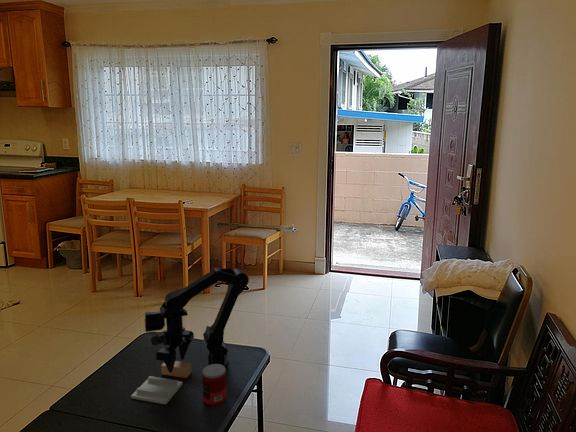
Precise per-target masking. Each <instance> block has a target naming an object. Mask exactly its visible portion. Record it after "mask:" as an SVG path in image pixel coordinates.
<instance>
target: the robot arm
mask: <svg viewBox="0 0 576 432" xmlns="http://www.w3.org/2000/svg"><path fill="white" fill-rule="evenodd" d="M249 280H250V279H249V276H248V275H247V273H246V272H245V271H244V270H243V269H242V268H230V267H229V268H228V267H227V268H222V267H214V268H213V269H212V270H210V271H209V272H207V273H206V274H204V275H203V276H201V277H199V278H198V279H196V280H194V281H193V282H192V283H190V284H189V285H187V286H185V287H182V288H178V289H176V290H172V291H170V292H169V293H167V294H166V295H165V298H164V302H163V303H162V304H161V306H160V307H159V311H158V310H157V311H150V312H149V311H147V312H145V313H144V330H145V333H148V332H155V331H158V332H156V333H155V334H154V335H152V336H151V338H150V343H151V345H153V346H158V345H162V344H163V346H168V347H161V348H160V349H159V350H158V351H157V352H156V353H155V359H156V361H162V362H163V363H165V365H166V367H167V369H168V371H169V372H170V373H172V371H173V368H174V364H175V361H177V349H178V350H179V357H180V361H181V360H182V361H183V360H185V357H186V355H187V353H188V351H189V348H190V346H191V344H192V343H193V339H194V338H195V333H194V332H193V331H192V330H189V329H188V330H187V329H186V327H184V325H183V324H184V323H183V317H185V316H188V311H187V309H185V307H186V306H187V304H188V303H189V302H190V300H192V299H194V297H196V296H198V295H199V294H200V293H203V292H204V291H206V290H207V289H208V288H210V287H212V286H213V285H215V284H217V282H221V283H222V282H223V283H224V284H225V283H226V284H227V291H226V292H225V295H224V298H223V300H222V302H221V305H220V307H219V310H218V312H217V314H216V317H215V318H214V322H213V324H211V325H210V326H209V325H207V326H206V327H205V330H204V333H202V337H203V341H204V344H205V347H206V349H207V350H208V354H207V364H208V365H211V364H221V365H223V366H224V367H226V368H227V366H228V365H229V363H230V361H229V360H228V352H229V350H228V347H227V346H226V344H225V341H224V335H225V328H226V326H227V323H228V322H229V319H230V316H231V314H232V312H233V309H234V308H235V304H236V302H237V300H238V298H239V296H240V294H242V293H243V292H244V291H245V289H246V287H247V286H248V284H249ZM165 321H166V322H165ZM165 326H166V330H163V329H164V327H165ZM162 330H163V331H162Z"/></svg>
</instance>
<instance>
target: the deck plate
mask: <svg viewBox="0 0 576 432" xmlns="http://www.w3.org/2000/svg"><path fill="white" fill-rule="evenodd" d="M183 383H184V382H183V381H180V380H177V379H172V378H171V379H170V378H165V377H164V378H163V377H158V376H153V375H152V376H151V375H149V376H148V377H147V379H146V380H145V381H144V382H143V383H142V384H141V385H140V386H139V387H137V388H136V389H135V391H134V392H133V393H132V394H131V395H130V398H131V399H133V400H138V401H144V402H149V403H156V404H161V405H167V404H168V403H169V401H170V400H171V399H172V398H173V396H174V395H175V394H176V393H177V392H178V391H179V390H180V388H181V387H182V386H183Z"/></svg>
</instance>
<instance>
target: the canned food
mask: <svg viewBox="0 0 576 432" xmlns="http://www.w3.org/2000/svg"><path fill="white" fill-rule="evenodd" d="M201 377H202V379H201V381H202V399H203V402H204V404H205V405H208V406H212V407H213V406H218V405H221V404H223V402H225V401H226V398H227V369H226V368H225V367H224V366H223V365H221V364H211V365H209V364H208V365H206V366H205V367H203V368H202V376H201Z"/></svg>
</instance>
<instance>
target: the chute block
mask: <svg viewBox="0 0 576 432" xmlns="http://www.w3.org/2000/svg"><path fill="white" fill-rule="evenodd" d="M160 365H161V375H164V376H169V377H170V376H171V377H177V378H184V379H188V377H189V376H190V375H191V373H192V363H191V362H186V361H178V360H176V361H175V364H174V368H173V371H172V373H170V372H169V371H168V369H167V367H166V365H165V363H164V362H163V363H162V364H160Z"/></svg>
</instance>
